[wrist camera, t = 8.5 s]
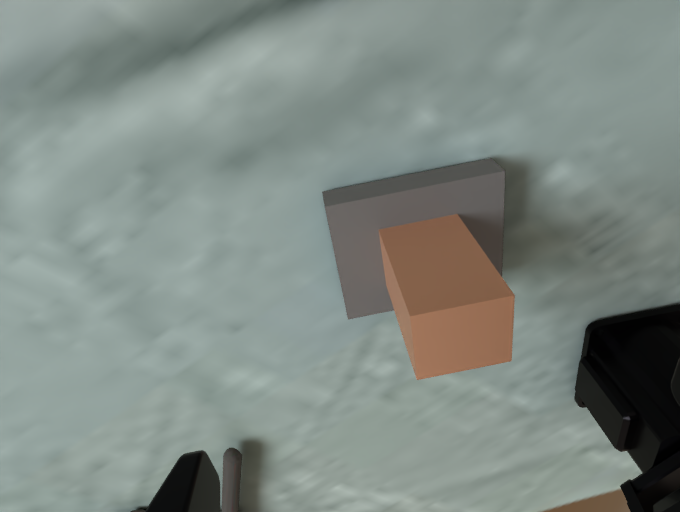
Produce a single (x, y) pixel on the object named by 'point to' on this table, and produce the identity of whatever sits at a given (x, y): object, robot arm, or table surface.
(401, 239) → the stub
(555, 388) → the table surface
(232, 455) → the walkie-talkie
